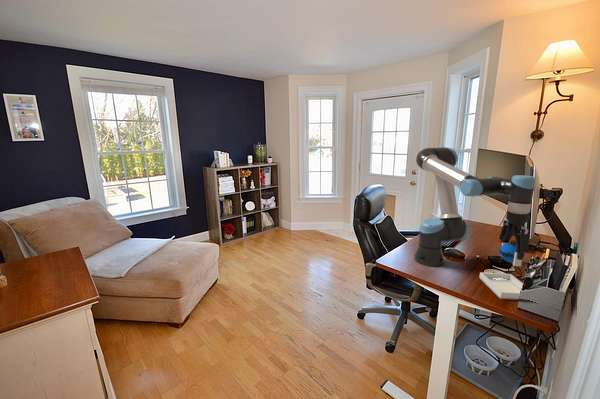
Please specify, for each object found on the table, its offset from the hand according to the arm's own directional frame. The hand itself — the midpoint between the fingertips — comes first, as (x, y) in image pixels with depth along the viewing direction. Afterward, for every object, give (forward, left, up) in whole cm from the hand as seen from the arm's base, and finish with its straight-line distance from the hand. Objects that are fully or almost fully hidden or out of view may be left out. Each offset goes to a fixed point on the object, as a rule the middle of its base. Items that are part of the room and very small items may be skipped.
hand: (510, 260), depth 117 cm
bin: (0, 0, -14) cm, 14 cm away
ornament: (0, 0, -1) cm, 1 cm away
